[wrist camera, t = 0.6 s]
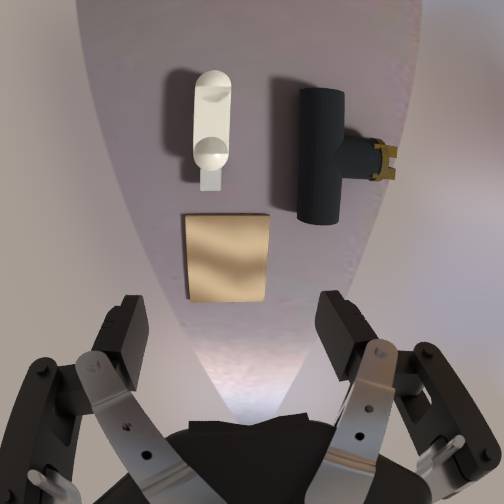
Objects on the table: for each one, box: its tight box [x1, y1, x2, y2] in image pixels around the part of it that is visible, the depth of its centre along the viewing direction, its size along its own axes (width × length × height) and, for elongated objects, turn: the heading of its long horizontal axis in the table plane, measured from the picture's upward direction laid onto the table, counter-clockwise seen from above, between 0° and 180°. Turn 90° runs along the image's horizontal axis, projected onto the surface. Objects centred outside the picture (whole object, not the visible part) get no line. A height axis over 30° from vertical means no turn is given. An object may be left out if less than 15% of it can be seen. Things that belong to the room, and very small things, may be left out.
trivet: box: [185, 215, 270, 303], centre depth 35 cm, size 12×10×1 cm
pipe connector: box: [297, 88, 397, 225], centre depth 30 cm, size 12×5×15 cm
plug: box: [193, 70, 231, 191], centre depth 27 cm, size 13×4×4 cm, turn 178°
